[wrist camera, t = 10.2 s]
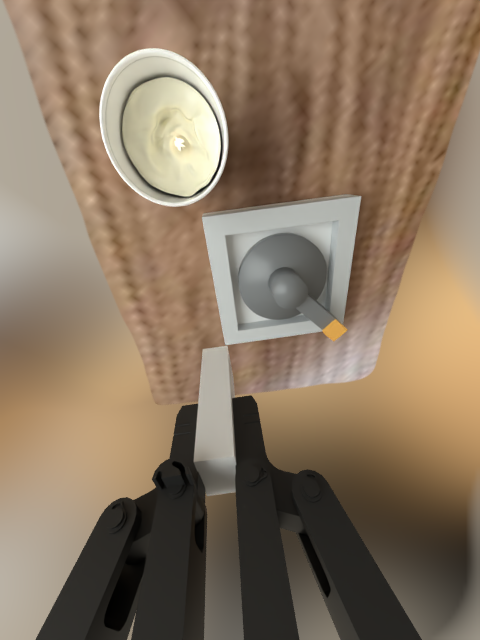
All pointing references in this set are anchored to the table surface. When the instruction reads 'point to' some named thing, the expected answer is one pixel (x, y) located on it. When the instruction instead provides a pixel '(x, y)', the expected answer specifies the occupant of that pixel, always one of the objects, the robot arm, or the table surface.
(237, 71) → the table surface
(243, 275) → the dial
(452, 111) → the table surface
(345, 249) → the dial panel
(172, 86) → the candle holder
